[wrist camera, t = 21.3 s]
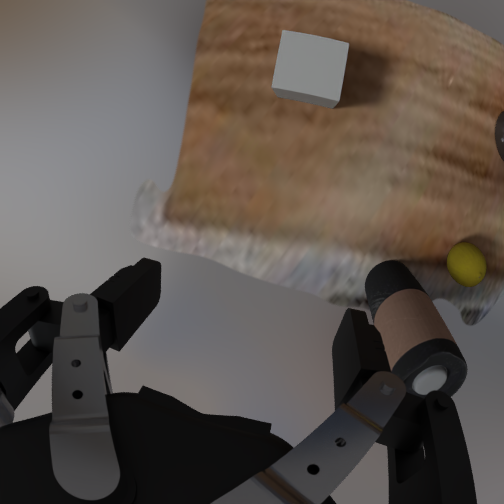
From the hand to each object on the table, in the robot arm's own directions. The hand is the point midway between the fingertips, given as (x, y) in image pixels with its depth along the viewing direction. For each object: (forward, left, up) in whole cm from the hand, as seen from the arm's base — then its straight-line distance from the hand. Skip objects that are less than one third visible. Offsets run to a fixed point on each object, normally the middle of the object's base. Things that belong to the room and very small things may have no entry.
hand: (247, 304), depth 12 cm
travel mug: (-17, +9, -26) cm, 33 cm away
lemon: (-26, +2, -26) cm, 37 cm away
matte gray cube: (0, -15, -26) cm, 30 cm away
